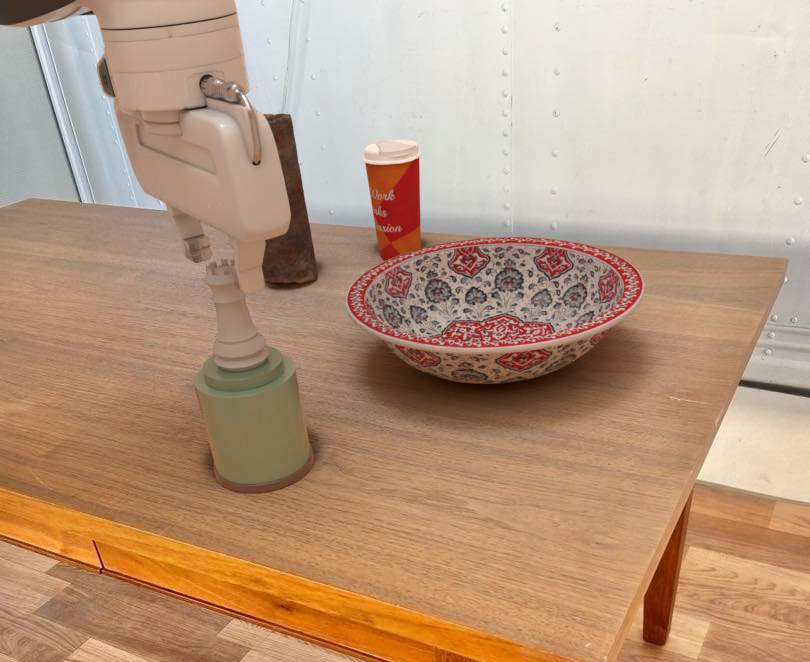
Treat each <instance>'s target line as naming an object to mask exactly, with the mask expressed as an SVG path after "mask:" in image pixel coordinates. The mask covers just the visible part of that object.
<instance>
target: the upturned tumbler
mask: <svg viewBox="0 0 810 662" xmlns="http://www.w3.org/2000/svg"><path fill="white" fill-rule="evenodd" d="M265 347H266V348H267V349H268V350H269V354H268V357H267V359H266V361H265V362H264V363H263V364H262V365H260V366H258V367H256V368H254V369H251V370H247V371H241V372H230V371H226V370H223V369H221V368H220V367H219V366H218V365H217V364H216V363H215V361H214V360H215V357H216V354H215V353H214V354H212V355H211V356H209V357H208V358H207V359H206V360H204V362H203V364H202V366H201V369H200V370H198V371H197V373H196V374H195V376H194V380H193V385H194V389H195V394H196V397H197V401H198V404H199V408H200V414H201V417H202V420H203V424H204V428H205V432H206V435H207V440H208V443H209V444H208V445H209V447H210V452H211V455H212V459H213V467H212V468H213V471H214V476H215V479H216V481H217V483H219V484H220V485H221V486H222V487H224V488H225V489H228V490H230V491H233V492H237V493H244V494H261V493H269V492H273V491H277V490H281V489H284V488H286V487H288V486H291V485H293V484H295V483H296V482H298V481H300V480H301V479H303V478H304V477H305V476H306V475H307V474H308V473H309V472H310V471H311V469H312V468H313V465H314V462H315V456H314V451H313V450H314V449H313V447H312V445H311V444H310V441H309V440H310V439H309V435H308V434H309V433H308V428H307V422H306V417H305V412H304V406H303V405H304V404H303V400H302V394H301V389H300V382H299V377H298V372H297V366H296V363H295V361H294V360H293V359H292V358H291V357H289V356H288V355H287V354H283V353H282V351H280V350H279V349H278V348H276V347H273V346H270V345H265Z"/></svg>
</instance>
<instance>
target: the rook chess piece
mask: <svg viewBox="0 0 810 662" xmlns="http://www.w3.org/2000/svg"><path fill="white" fill-rule="evenodd" d="M229 261H230V264H229ZM229 261H228V258H221V259H220V263H221V265H218V263H217V261H216V260H213V261H211V262H209V264H206V265H205V267H204V268H205V272H206V273H205V275H204V277H203V282H204V284H206V285H207V286H208V287H209V288H210V289H211V292H212V293H211V297H210V300H211V302H212V303H213V304H214V309H215V314H216V325H217V327H216V329H217V330H216V333H215V337H214V338H215V340H214V342H213V344H212V352H213V353H214V354H216V357H215V360H214V361H215V363H216V364H217V365H218V366H219V367H220V368H221V369H223V370H226V371H230V372H241V371H247V370H251V369H254V368H256V367H258V366H260V365H262V364H263V363H264V362H265V361H266V359H267V357H268V354H269V350H268V349H267V348H266V347H265V345H266V344H267V339H266V338H265V336H264V335H263V334H262V333H261V332H260V331H259V328H258V327H257V326H256V325H255V323H254V321H253V319H252V316H251V314H250V311H249V308H248V305H247V304H248V303H247V300H246V297H247V295H248V294H245V293H243V292H242V291H240V290H239V289H237V288H236V287H235V285H234V278H233V276H232V271H231V267H232V266H235V260H234V258H231V259H230V260H229ZM266 346H267V345H266Z"/></svg>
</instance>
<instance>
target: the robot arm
mask: <svg viewBox="0 0 810 662" xmlns="http://www.w3.org/2000/svg"><path fill="white" fill-rule="evenodd" d="M76 16H95V17H96V19H97V22H98V26H99V30H100V33H101V37H102V42H103V46H104V47H103V54H102V55H101V57H100V59H98V61H97V63H96V74H97V78H98V81H99V82H98V83H99V85H100V88H101V91H102V93H103V94H104V95H105V96H106V97H107V98H111V99H113V110H114V115H115V119H116V122H117V126H118V128H119V132H120V135H121V138H122V142H123V144H124V147H125V150H126V153H127V154H126V155H127V157H128V159H129V163H130V165H131V168H132V172H133V174H134V176H135V178H136V180H137V182H138V183H139V186H140V188H141V190H142V191H143V192H144V193H145V194H147V195H149V196H151V197H152V198H154V199H156V200H159V201H160V202H162V203H165V208H166V211H167V214H168V217H169V219H170V221H171V223H172V226H173V227H174V229H175V232H176V233H177V235H178V237H179V239H180V243H181V247H182V251H183V256H184V257H185V259H187V260H188V261H191V262H192V263H194V264H199V263H201V262H207V261H210V260H211V258H212V255H213V252H212V249H211V243H210V238H209V236H208V235H206V234H205V231H204V228H203V226H202V223H203V224H205V225H208V226H209V227H210V228H213V229H215V230H217V231H219V232H220V233H223V234H225V235H226V236H227V237H228V242H229V246H230V247H231V249H233V257H234V258H233V259H234V260H235V266H232V267H231V271H232V276H233V278H234V285H235V287H236V288H237V289H239V290H240V291H242V292H243V293H245V294H247V295H252V294H255V293H258V292H262V291H263V290H264V288H265V285H266V283H265V279H264V276H263V271H262V263H263V257H264V252H265V246H266V242H265V240H267V239H271V238H274V237H277V236H280V235H283V234H285V233H287V231H288V229H289V225H290V219H291V212H290V206H289V201H288V196H287V191H286V186H285V181H284V177H283V172H282V168H281V164H280V159H279V155H278V151H277V147H276V143H275V140H274V137H273V133H272V131H271V128H270V125H269V123H268V121H267V120H266V118H265V116H264V115H263V114H264V113H262V112H261V111H259V110H258V109H256V106H255V105H254V104H251V102H250V100H249V97H247V94H248V93H249V92H250V90H251V84H250V79H249V74H248V68H247V63H246V56H245V49H244V44H243V43H244V42H243V39H242V33H241V25H240V20H239V15H238V8H237V4H236V2H235V0H0V26H3V27H4V26H5V27H9V28H29V27H34V26H40V25H42V24H46V23H47V24H48V23H54V22H59V21H63V20H66V19H70V18H73V17H76Z"/></svg>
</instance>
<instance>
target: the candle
mask: <svg viewBox="0 0 810 662" xmlns="http://www.w3.org/2000/svg"><path fill="white" fill-rule="evenodd" d="M262 114H263V115H264V116H265V118H266V120H267V121H268V123H269V125H270V128H271V131H272V133H273V137H274V140H275V143H276V147H277V151H278V155H279V159H280V164H281V168H282V172H283V177H284V181H285V186H286V191H287V196H288V201H289V206H290V212H291V219H290V225H289V229H288V231H287V233H285V234H283V235H280V236H277V237H274V238H271V239H267V240H265V242H266V246H265V252H264V257H263V263H262V271H263V276H264V280H266V281H267V282H270V283H277V284H290V283H297V284H298V283H299V284H302V283H307V282H308V283H309V282H314V281H316V280H318V277H319V272H318V266H317V259H316V253H315V248H314V242H313V236H312V231H311V224H310V220H309V213H308V209H307V204H306V197H305V191H304V190H305V189H304V185H303V178H302V173H301V166H300V162H299V157H298V156H299V155H298V149H297V142H296V136H295V130H294V123H293V118H292V116H291V114H290V113H276V114H274V113H262Z"/></svg>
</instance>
